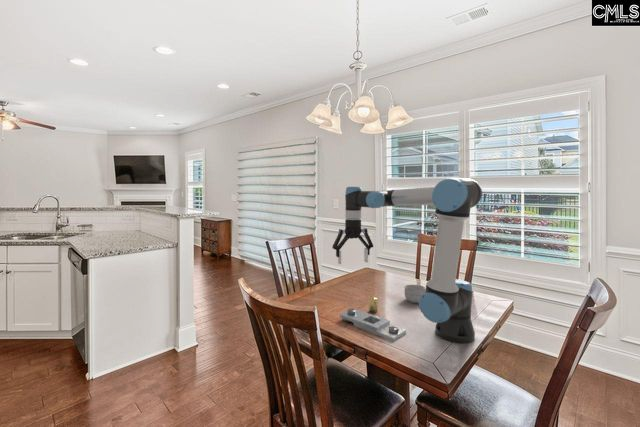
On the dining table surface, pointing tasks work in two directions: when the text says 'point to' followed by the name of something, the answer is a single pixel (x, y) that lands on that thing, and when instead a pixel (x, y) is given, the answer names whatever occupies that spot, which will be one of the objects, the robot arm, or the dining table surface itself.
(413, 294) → the teacup
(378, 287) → the dining table surface
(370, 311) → the brass pin
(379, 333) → the grey peg base plate
